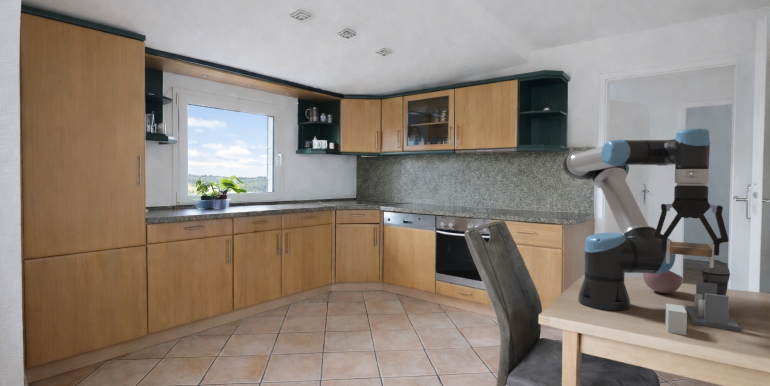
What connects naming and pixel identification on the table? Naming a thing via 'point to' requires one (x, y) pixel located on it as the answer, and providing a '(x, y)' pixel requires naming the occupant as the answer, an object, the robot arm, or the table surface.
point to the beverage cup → (716, 275)
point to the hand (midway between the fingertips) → (689, 264)
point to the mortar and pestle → (663, 281)
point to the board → (690, 249)
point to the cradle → (711, 308)
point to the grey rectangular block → (676, 319)
